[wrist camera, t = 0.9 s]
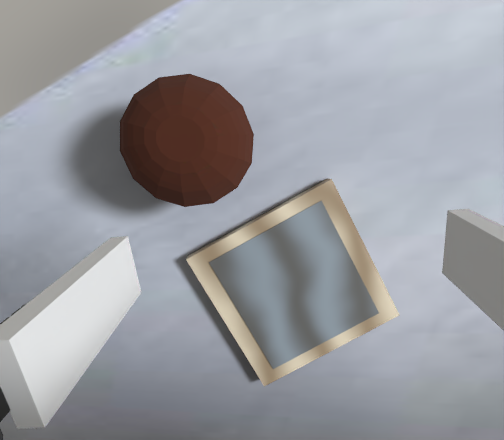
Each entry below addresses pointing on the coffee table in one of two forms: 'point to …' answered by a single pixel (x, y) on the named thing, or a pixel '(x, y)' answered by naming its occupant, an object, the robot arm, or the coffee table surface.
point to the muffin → (186, 140)
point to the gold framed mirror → (294, 282)
